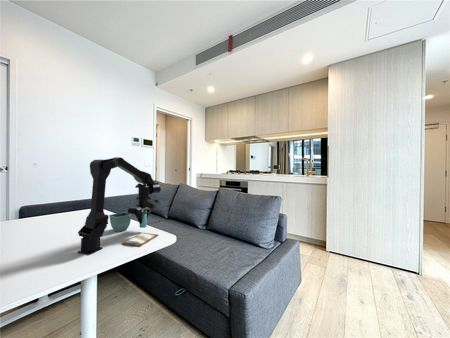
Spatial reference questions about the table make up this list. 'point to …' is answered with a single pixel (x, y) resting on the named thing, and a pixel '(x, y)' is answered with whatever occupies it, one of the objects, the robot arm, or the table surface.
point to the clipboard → (140, 239)
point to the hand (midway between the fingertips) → (143, 222)
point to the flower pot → (120, 221)
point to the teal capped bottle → (144, 219)
